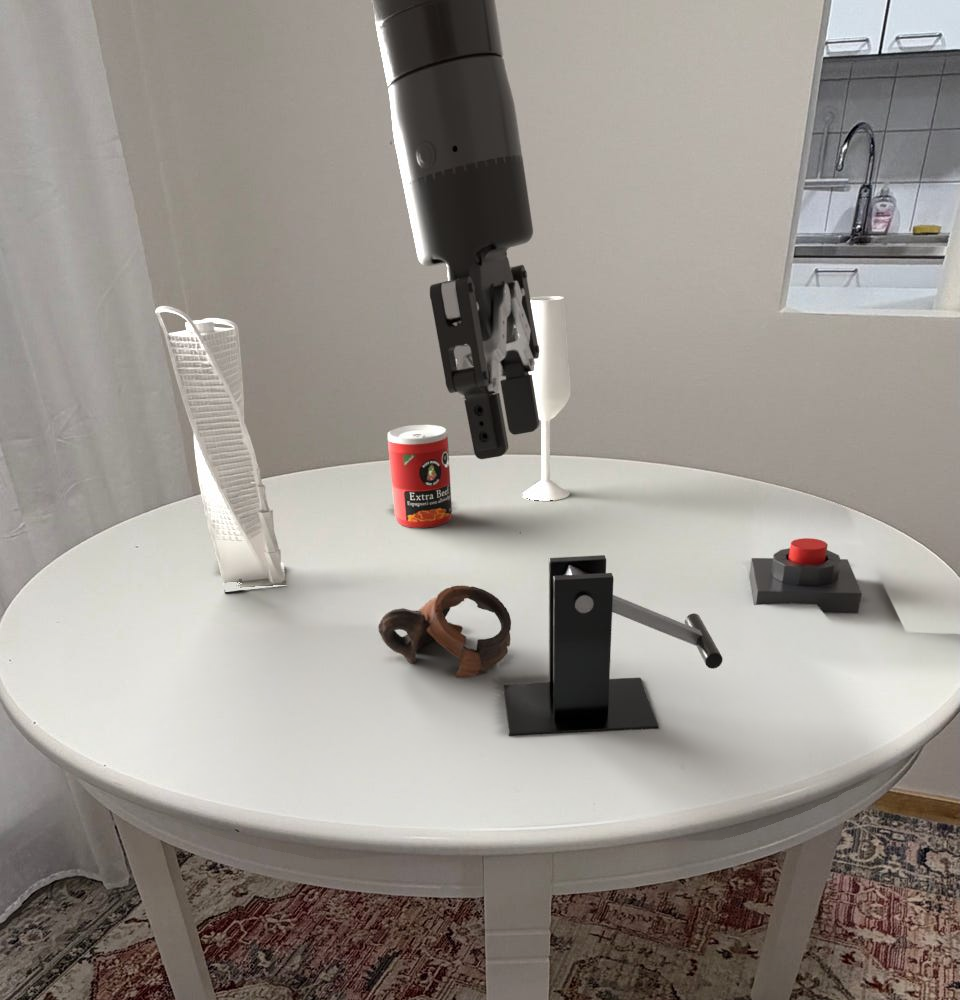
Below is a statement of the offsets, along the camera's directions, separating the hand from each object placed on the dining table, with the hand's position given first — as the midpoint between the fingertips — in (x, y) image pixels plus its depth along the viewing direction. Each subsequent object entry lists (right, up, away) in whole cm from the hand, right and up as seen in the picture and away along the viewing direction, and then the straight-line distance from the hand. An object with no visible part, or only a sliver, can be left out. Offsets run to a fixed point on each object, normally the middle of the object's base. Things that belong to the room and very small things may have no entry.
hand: (509, 443), depth 67 cm
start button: (+31, +1, +31) cm, 44 cm away
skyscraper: (-29, +3, +45) cm, 53 cm away
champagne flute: (+7, +22, +67) cm, 71 cm away
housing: (+32, -2, +33) cm, 46 cm away
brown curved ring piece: (-5, -11, +23) cm, 26 cm away
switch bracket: (+6, -17, +13) cm, 23 cm away
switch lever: (+10, -11, +9) cm, 17 cm away
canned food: (-10, +16, +60) cm, 63 cm away
